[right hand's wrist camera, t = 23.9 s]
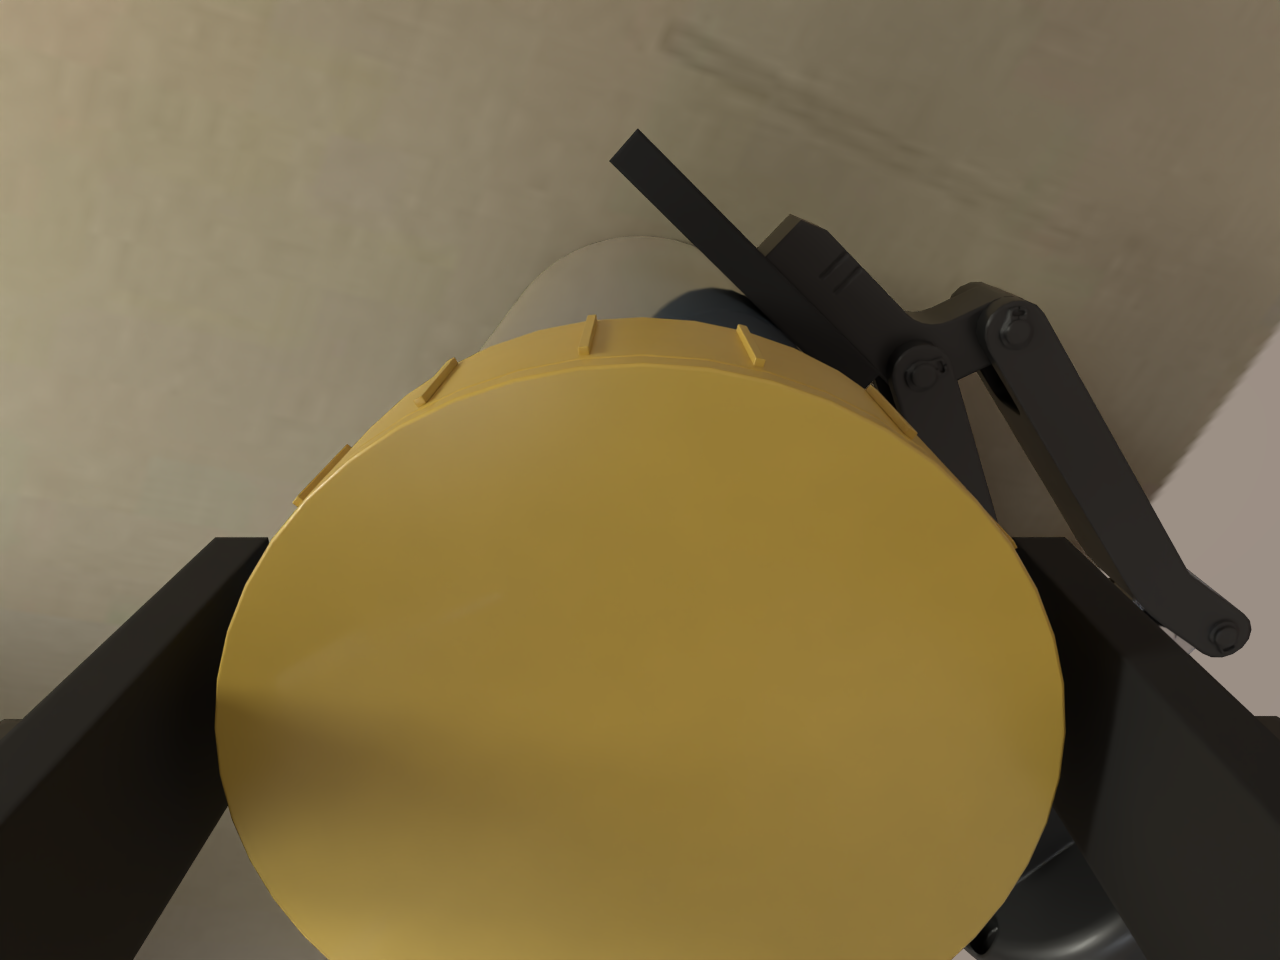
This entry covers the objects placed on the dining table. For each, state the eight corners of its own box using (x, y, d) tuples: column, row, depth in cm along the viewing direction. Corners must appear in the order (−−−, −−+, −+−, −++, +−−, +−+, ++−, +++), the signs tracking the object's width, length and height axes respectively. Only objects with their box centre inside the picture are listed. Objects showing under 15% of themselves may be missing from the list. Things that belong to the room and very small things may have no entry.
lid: (1145, 548, 12) (1263, 644, 10) (746, 1012, 15) (765, 1168, 12) (490, 155, 10) (448, 159, 8) (186, 767, 13) (92, 897, 11)
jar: (765, 208, 24) (968, 323, 9) (803, 495, 27) (1005, 936, 12) (460, 267, 25) (187, 465, 10) (530, 542, 28) (401, 1019, 13)
